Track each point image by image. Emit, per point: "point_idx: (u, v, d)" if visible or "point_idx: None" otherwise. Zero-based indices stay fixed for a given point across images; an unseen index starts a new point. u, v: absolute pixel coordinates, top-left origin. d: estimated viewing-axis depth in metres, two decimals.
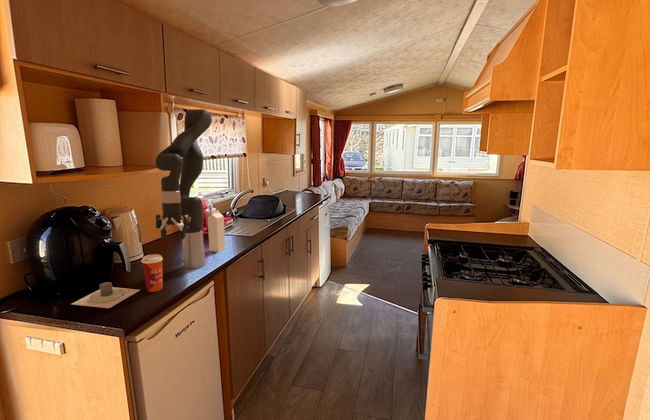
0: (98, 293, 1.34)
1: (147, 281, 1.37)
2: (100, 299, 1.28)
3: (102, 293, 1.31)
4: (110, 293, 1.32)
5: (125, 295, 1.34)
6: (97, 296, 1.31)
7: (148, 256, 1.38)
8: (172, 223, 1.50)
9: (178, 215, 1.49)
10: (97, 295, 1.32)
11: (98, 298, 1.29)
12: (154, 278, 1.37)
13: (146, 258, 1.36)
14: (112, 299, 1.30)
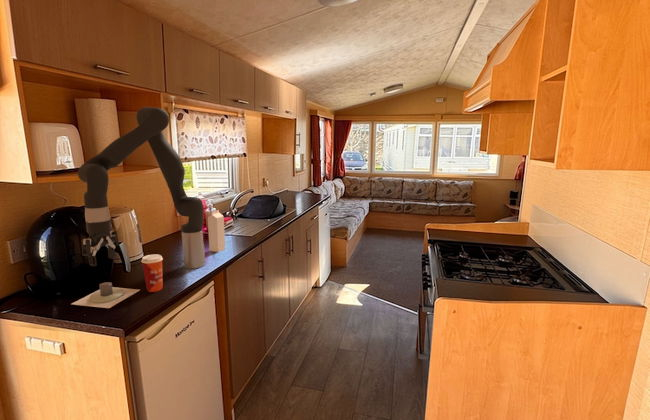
0: (98, 293, 1.33)
1: (147, 281, 1.37)
2: (100, 299, 1.28)
3: (102, 293, 1.31)
4: (110, 293, 1.32)
5: (125, 295, 1.34)
6: (97, 296, 1.31)
7: (148, 256, 1.38)
8: (104, 243, 1.30)
9: (109, 232, 1.32)
10: (97, 295, 1.32)
11: (98, 298, 1.29)
12: (154, 278, 1.37)
13: (146, 258, 1.36)
14: (112, 299, 1.30)
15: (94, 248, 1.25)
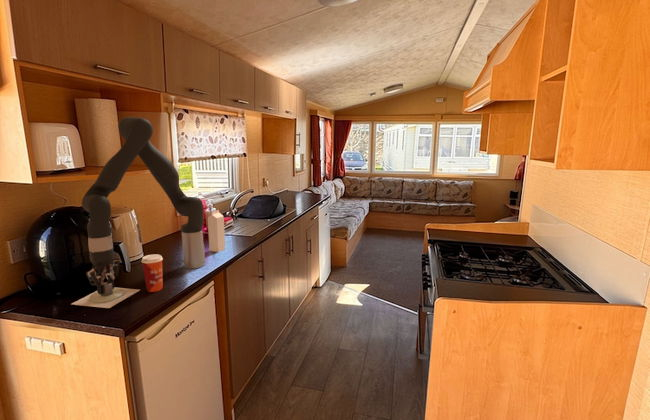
0: (98, 293, 1.33)
1: (147, 281, 1.37)
2: (100, 299, 1.29)
3: None
4: (110, 293, 1.32)
5: (125, 295, 1.34)
6: (97, 296, 1.31)
7: (148, 256, 1.38)
8: (106, 271, 1.31)
9: (113, 260, 1.34)
10: (97, 295, 1.32)
11: (98, 298, 1.29)
12: (154, 278, 1.37)
13: (146, 258, 1.36)
14: (112, 299, 1.30)
15: (100, 278, 1.29)
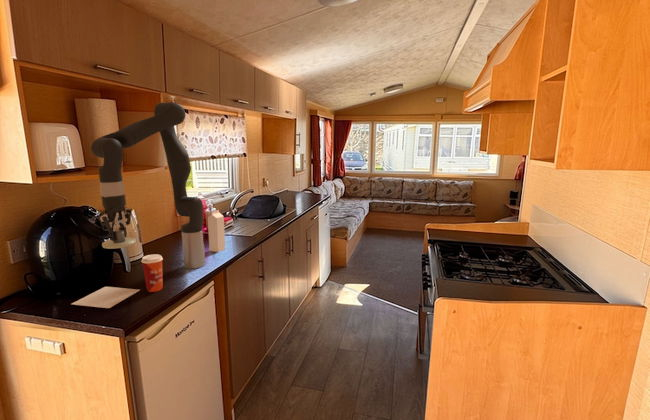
0: (110, 241, 1.33)
1: (147, 281, 1.37)
2: (113, 245, 1.28)
3: None
4: (122, 240, 1.32)
5: (125, 295, 1.34)
6: (110, 243, 1.30)
7: (148, 256, 1.38)
8: (118, 217, 1.30)
9: (124, 208, 1.33)
10: (109, 242, 1.31)
11: (111, 244, 1.29)
12: (154, 278, 1.37)
13: (146, 258, 1.36)
14: (125, 245, 1.29)
15: (113, 224, 1.28)
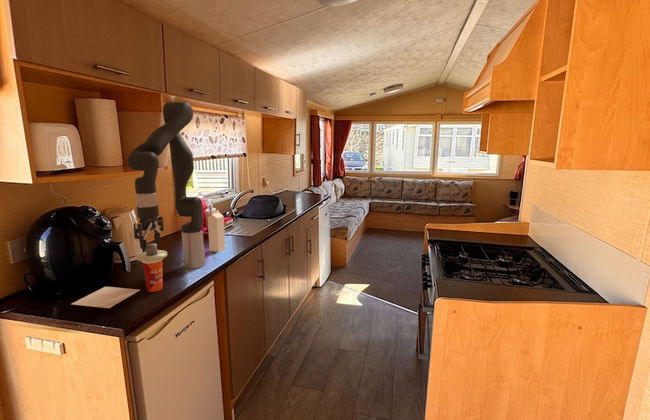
0: (143, 253, 1.38)
1: (147, 281, 1.37)
2: (147, 258, 1.33)
3: (148, 252, 1.36)
4: (155, 253, 1.37)
5: (125, 295, 1.34)
6: (143, 256, 1.35)
7: None
8: (152, 228, 1.36)
9: (156, 217, 1.38)
10: (143, 255, 1.36)
11: (145, 257, 1.34)
12: (154, 278, 1.37)
13: None
14: (158, 258, 1.34)
15: (145, 232, 1.32)
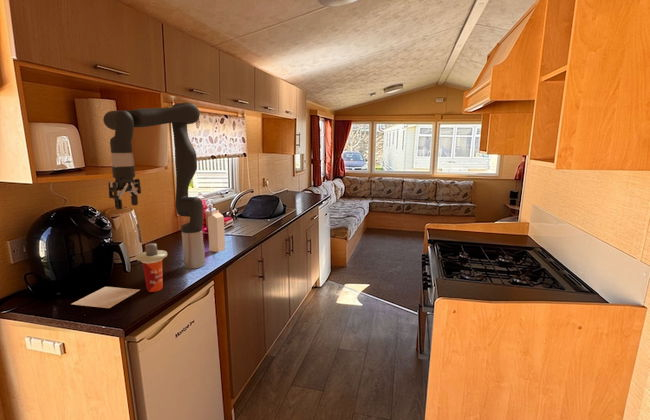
0: (143, 253, 1.38)
1: (147, 281, 1.37)
2: (147, 258, 1.33)
3: (148, 252, 1.36)
4: (155, 253, 1.37)
5: (125, 295, 1.34)
6: (143, 256, 1.35)
7: None
8: (129, 189, 1.35)
9: (133, 179, 1.37)
10: (143, 255, 1.36)
11: (145, 257, 1.34)
12: (154, 278, 1.37)
13: None
14: (158, 258, 1.34)
15: (120, 192, 1.31)
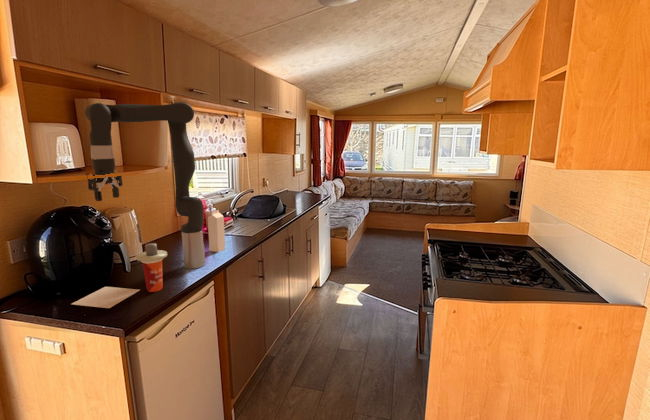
0: (143, 253, 1.38)
1: (147, 281, 1.37)
2: (147, 258, 1.33)
3: (148, 252, 1.36)
4: (155, 253, 1.37)
5: (125, 295, 1.34)
6: (143, 256, 1.35)
7: None
8: (109, 181, 1.37)
9: (113, 172, 1.39)
10: (143, 255, 1.36)
11: (145, 257, 1.34)
12: (154, 278, 1.37)
13: None
14: (158, 258, 1.34)
15: (99, 184, 1.33)
